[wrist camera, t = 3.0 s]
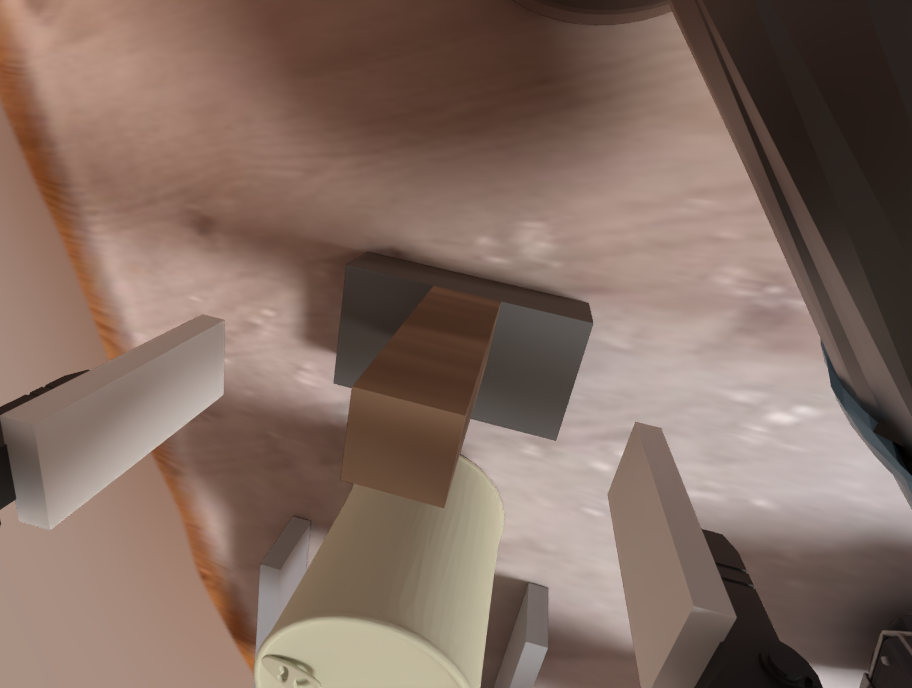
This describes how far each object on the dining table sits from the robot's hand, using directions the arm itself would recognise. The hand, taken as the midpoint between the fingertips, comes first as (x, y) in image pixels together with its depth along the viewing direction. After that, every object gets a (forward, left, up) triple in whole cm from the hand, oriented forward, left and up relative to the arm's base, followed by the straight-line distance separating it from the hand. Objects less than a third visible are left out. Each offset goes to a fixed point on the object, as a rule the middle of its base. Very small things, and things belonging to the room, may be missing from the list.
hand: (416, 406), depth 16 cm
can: (+13, 0, -11) cm, 17 cm away
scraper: (+1, 0, -10) cm, 10 cm away
